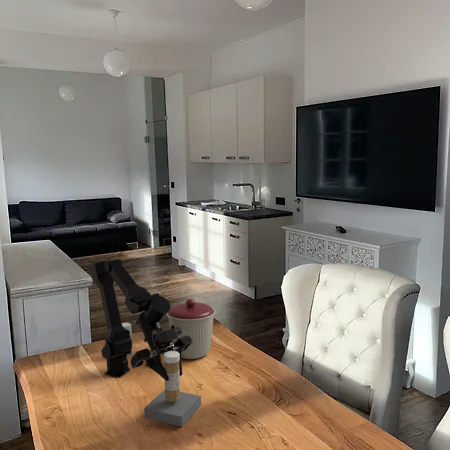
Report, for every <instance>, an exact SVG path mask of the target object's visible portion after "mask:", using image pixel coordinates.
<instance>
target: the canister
mask: <svg viewBox="0 0 450 450" xmlns="http://www.w3.org/2000/svg"><path fill="white" fill-rule="evenodd" d="M215 314H216V309H215V308H214V307H213V306H211V305H209V304H206V303H202V302H196V300H195V299H194V298H188V299H187V300H186V301H185V302H183V303H178V304H174V305H173V306H171V307H170V310H169V311H168V313H167V314H166V315H165V316H167V317H168V326H169V329H171V325H175V324H179V326H180V328H181V331H182V333H181V334H179V335H178V338H181V337H184V336H187V335H188V336H190V337H191V339H192V341H193V343H192V344H191V345H190V347H189V348H188V349H187V350H185V351H183V352H182V353H181V359H185V360H196V359H201V358H203V357H205V356H207V355H208V353H209V352H210V350H211V344H212V337H213V325H214V316H215ZM176 340H177V339H173V342H172V343H171V344H174V343H175V342H176Z"/></svg>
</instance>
